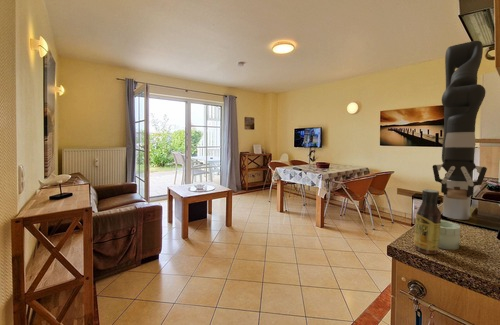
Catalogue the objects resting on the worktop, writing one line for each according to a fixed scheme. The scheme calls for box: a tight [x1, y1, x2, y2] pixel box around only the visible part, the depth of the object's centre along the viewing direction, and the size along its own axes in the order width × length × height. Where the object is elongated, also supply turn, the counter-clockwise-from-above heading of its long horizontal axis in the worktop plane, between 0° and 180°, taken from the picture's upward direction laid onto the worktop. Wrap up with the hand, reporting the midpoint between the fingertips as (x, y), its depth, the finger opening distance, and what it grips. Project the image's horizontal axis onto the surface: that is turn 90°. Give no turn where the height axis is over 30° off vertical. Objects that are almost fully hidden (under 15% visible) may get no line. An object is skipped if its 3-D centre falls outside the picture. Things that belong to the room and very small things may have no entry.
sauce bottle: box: [413, 188, 442, 255], centre depth 73 cm, size 7×6×20 cm
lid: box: [446, 187, 468, 200], centre depth 79 cm, size 6×6×4 cm
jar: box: [438, 219, 461, 251], centre depth 78 cm, size 9×9×7 cm
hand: (456, 195), depth 79 cm, fingers closed on lid, 5 cm apart
